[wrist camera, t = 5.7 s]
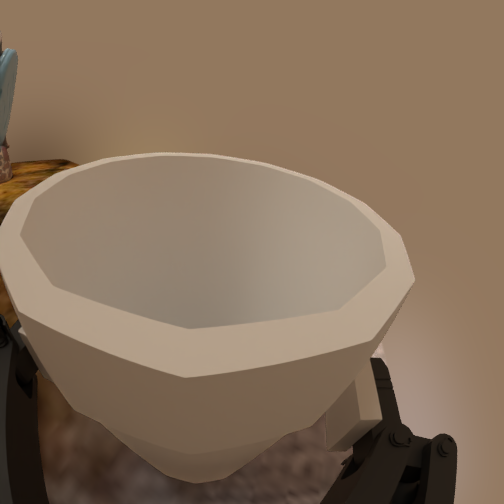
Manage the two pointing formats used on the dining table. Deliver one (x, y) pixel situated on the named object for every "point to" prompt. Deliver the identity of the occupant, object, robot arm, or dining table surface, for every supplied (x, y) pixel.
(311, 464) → the dining table surface
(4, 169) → the figurine
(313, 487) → the dining table surface
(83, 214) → the foam cup
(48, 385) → the dining table surface
